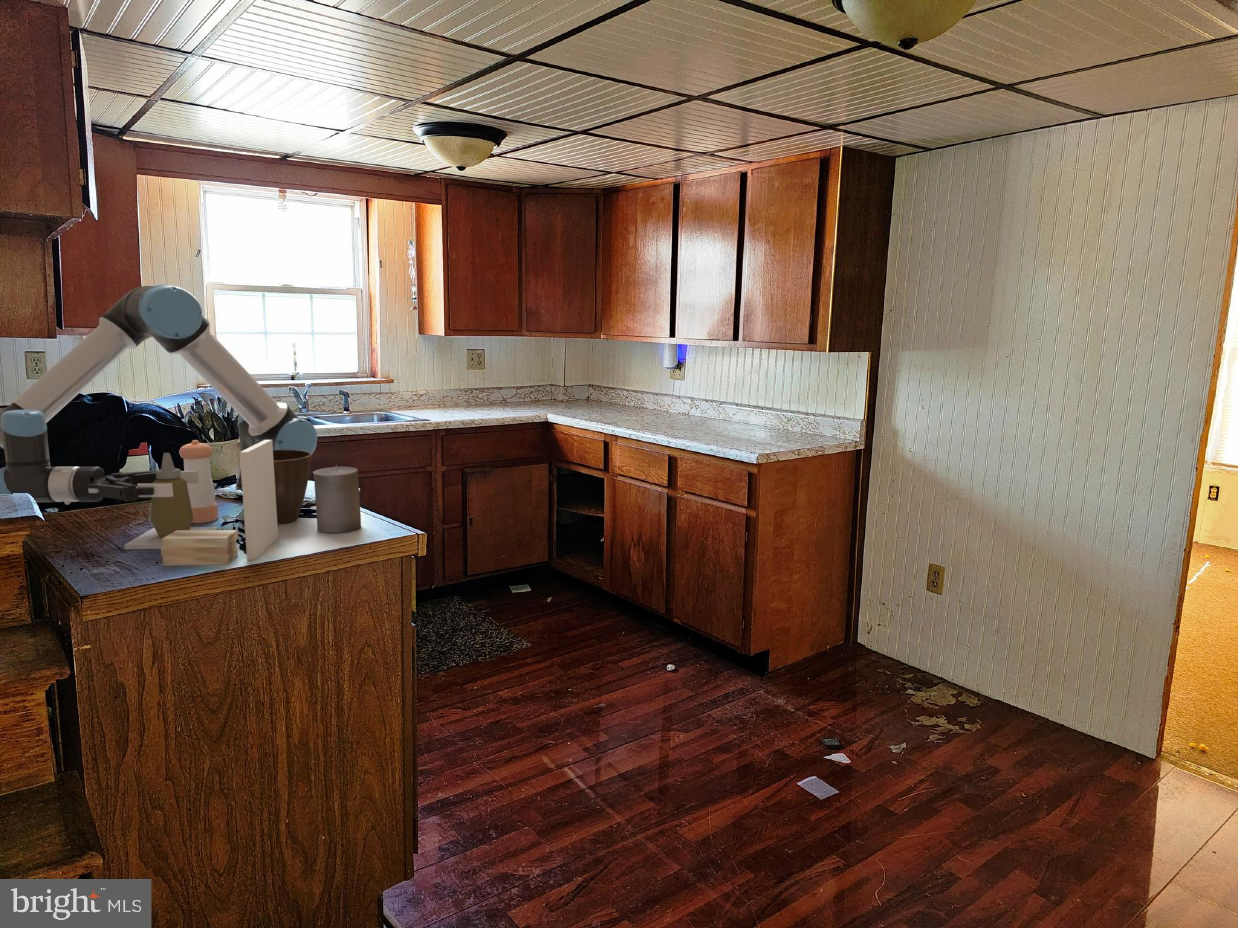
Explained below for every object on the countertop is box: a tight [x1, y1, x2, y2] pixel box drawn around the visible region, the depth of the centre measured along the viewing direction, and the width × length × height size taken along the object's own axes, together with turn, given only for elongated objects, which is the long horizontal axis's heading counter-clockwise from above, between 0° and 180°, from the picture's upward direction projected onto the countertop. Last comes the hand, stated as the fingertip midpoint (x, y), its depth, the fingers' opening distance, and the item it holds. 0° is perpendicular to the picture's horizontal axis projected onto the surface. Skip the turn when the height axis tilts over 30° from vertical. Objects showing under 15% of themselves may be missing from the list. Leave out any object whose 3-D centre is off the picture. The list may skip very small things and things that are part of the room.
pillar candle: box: [312, 464, 362, 534], centre depth 187 cm, size 10×10×15 cm
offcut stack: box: [160, 529, 239, 567], centre depth 162 cm, size 7×13×5 cm, turn 97°
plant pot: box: [273, 450, 312, 525], centre depth 193 cm, size 15×15×16 cm
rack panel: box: [239, 440, 279, 561], centre depth 170 cm, size 16×2×22 cm, turn 7°
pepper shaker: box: [178, 439, 219, 524], centre depth 193 cm, size 7×7×19 cm
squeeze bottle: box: [150, 452, 193, 537], centre depth 175 cm, size 8×8×18 cm
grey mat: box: [124, 526, 221, 550], centre depth 177 cm, size 14×14×1 cm
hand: (185, 483), depth 175 cm, fingers open, 13 cm apart
